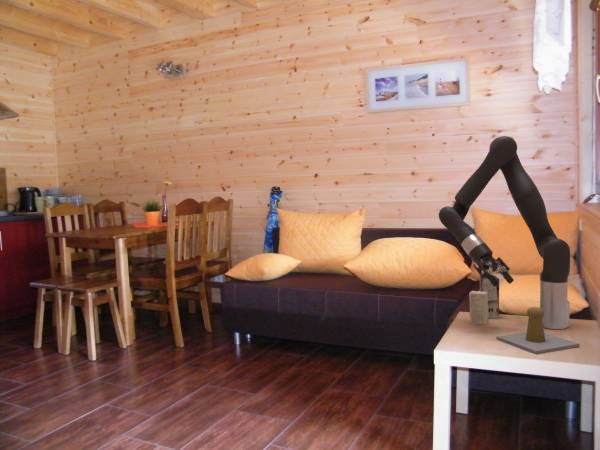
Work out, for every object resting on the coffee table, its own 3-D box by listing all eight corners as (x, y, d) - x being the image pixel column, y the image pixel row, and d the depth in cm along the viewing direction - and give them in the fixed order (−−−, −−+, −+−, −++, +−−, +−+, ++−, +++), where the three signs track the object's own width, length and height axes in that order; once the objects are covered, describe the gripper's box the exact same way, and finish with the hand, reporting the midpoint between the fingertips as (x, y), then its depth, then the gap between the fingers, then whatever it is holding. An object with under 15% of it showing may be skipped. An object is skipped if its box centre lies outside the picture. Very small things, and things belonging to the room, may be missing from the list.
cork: (537, 343, 170) (537, 310, 170) (521, 339, 176) (521, 307, 175) (549, 340, 173) (549, 308, 172) (533, 336, 178) (534, 305, 178)
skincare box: (488, 322, 202) (488, 291, 201) (485, 325, 198) (485, 293, 197) (472, 320, 205) (471, 290, 204) (469, 323, 201) (469, 292, 201)
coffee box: (499, 319, 207) (499, 279, 206) (482, 318, 208) (482, 278, 207) (495, 313, 216) (495, 275, 215) (479, 313, 217) (479, 275, 216)
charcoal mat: (536, 333, 186) (536, 330, 186) (579, 346, 169) (579, 343, 169) (496, 339, 180) (496, 336, 180) (536, 354, 163) (536, 351, 163)
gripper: (470, 244, 185) (499, 279, 176) (494, 240, 193) (523, 274, 185) (458, 257, 190) (485, 292, 181) (482, 253, 198) (509, 287, 189)
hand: (504, 283), depth 183 cm, fingers open, 8 cm apart
